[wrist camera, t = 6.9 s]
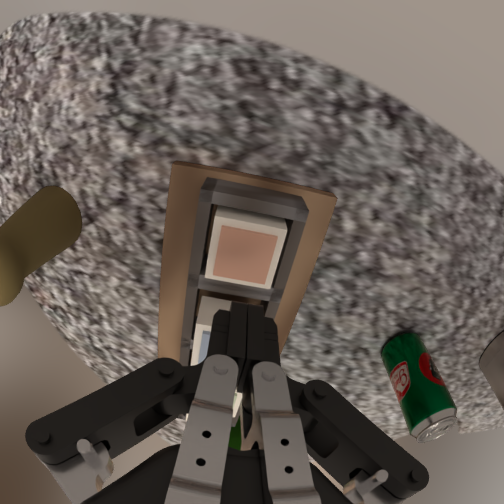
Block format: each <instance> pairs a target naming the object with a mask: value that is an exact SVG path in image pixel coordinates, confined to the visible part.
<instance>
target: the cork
mask: <svg viewBox="0 0 504 504" xmlns="http://www.w3.org/2000/svg"><path fill="white" fill-rule="evenodd" d="M81 228H82V219H81V213H80V210H79V208H78V205H77V203H76V201H75V200H74V199H73V197H72V196H71V195H70V194H69V193H68V192H67V191H65V190H64V189H63V188H60V187H57V186H46V187H44V188H42V189H41V190H39V191H38V192H37V193H36V194H35V195H33V196H32V197H31V198H30V199H29V200H28V201H27V202H26V203H25V204H23V205H22V206H21V207H20V208H19V209H18V210H17V211H16V212H15V213H14V214H13V215H12V216H11V217H10V218H9V219H8V220H7V221H6V222H5V223H4V224H3V225H2V226H1V227H0V306H4V305H7V304H9V303H11V302H12V301H13V300H14V299H15V298H16V296H17V295H18V294H19V293H20V291H21V288H22V286H23V282H24V278H25V277H27V276H28V275H29V274H31V273H32V272H33V271H35V270H36V269H38V268H39V267H40V266H42V265H43V264H45V263H46V262H48V261H49V260H50V259H52V258H53V257H55V256H56V255H58V254H59V253H61V252H62V251H64V250H65V249H67V248H68V247H70V246H71V245H73V244H74V243H75V242H76V241H77V240H78V238H79V235H80V233H81Z"/></svg>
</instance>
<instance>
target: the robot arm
mask: <svg viewBox="0 0 504 504" xmlns="http://www.w3.org/2000/svg"><path fill="white" fill-rule="evenodd" d="M479 366H480V369H481V370H482V372H483V374H484V375H485V377H486V379H487V381H488V382H489V384H490V386H491V388H492V389H493V391H494V393H495V395H496V397H497V398H498V400H499V402H500V404H501V406H502V408H503V410H504V331H503V332H502V333H501V334H500V335H499V336H498V337H496V338H495V339H494V340H493V342H492V343H491V344H490V345H489V346H488V347H487V349H486V350H485V352H484V353H483V355H482V357H481V359H480V362H479ZM236 387H237V393H242V402H241V405H240V421H241V439H242V444H241V450H237V449H234V448H231V447H228V443H229V436H230V430H231V423H232V417H233V402H234V395H235V391H236ZM180 414H189V415H188V418H187V422H186V426H185V430H184V433H183V437H182V441H181V444H177V445H172V446H169V447H166V448H164V449H162V450H160V451H158V452H157V453H155V454H154V455H152V456H151V457H149V458H148V459H147V460H145V461H144V462H142V463H141V464H140V465H138V466H137V467H135V468H134V469H132V470H131V471H130V472H128V473H127V474H125V475H124V476H122V477H121V478H119V479H118V480H116V481H115V482H113V483H112V484H110V485H108V486H107V487H105V488H104V489H102V486H103V483H104V482H105V481H106V480H107V479H108V478H109V477H110V476H111V475H112V473H113V470H114V465H113V461H112V459H113V458H115V457H116V456H118V455H120V454H121V453H123V452H125V451H126V450H128V449H130V448H131V447H133V446H134V445H136V444H138V443H139V442H141V441H142V440H144V439H145V438H147V437H149V436H150V435H152V434H153V433H155V432H156V431H158V430H159V429H161V428H162V427H164V426H165V425H167V424H168V423H170V422H171V421H173V420H174V419H176V418H177V417H178V416H179V415H180ZM25 437H26V442H27V444H28V446H29V447H30V448H31V450H32V451H33V452H34V453H35V455H36V456H37V458H38V459H39V460H40V461H41V462H42V463H43V464H44V465H45V466H46V467H47V468H48V469H49V470H50V472H51V473H52V475H53V476H54V478H55V479H56V481H57V482H58V484H59V485H60V487H61V488H62V490H63V491H64V493H65V494H66V495H67V497H68V498H69V499H70V501H71V502H72V503H73V504H401V503H402V502H403V501H404V500H405V499H407V498H409V497H411V496H412V495H414V494H416V493H417V492H419V491H421V490H422V489H423V488H425V487H426V485H427V484H428V481H429V474H428V471H427V469H426V468H425V466H424V465H422V464H421V463H420V462H419V461H417V460H416V459H415V458H414V457H413V456H411V455H410V454H409V453H407V451H405V450H404V449H403V448H402V447H401V446H399V445H398V444H397V443H396V442H395V441H393V440H392V439H391V438H390V437H389V436H388V435H386V434H385V433H384V432H383V431H382V430H381V429H379V428H378V427H377V426H376V425H375V424H374V423H372V422H371V421H370V420H369V419H368V418H367V417H366V416H364V415H363V414H362V413H361V412H360V411H359V410H358V409H356V408H355V407H354V406H353V405H352V404H351V403H350V402H349V401H347V400H346V399H345V398H344V397H343V396H342V395H341V394H340V393H339V392H337V391H336V390H335V389H334V388H333V387H332V386H331V385H330V384H328V383H327V382H324V381H322V380H311V381H309V382H307V383H306V385H305V384H303V383H300V382H297V381H295V380H292V379H291V378H289V377H288V376H286V374H285V372H284V370H283V369H282V368H281V365H280V352H279V342H278V329H277V325H276V323H275V322H274V320H273V318H269V317H264V308H263V306H261V305H255V304H249V303H248V304H247V303H243V302H237V301H232V302H231V306H230V311H227V310H221V309H219V310H218V311H217V312H216V313H215V314H214V316H213V321H212V327H211V333H210V339H209V345H208V351H207V356H206V358H205V359H204V360H203V361H202V362H201V363H199V364H197V365H193V366H182V365H181V364H180V363H179V362H178V361H176V360H174V359H172V358H167V357H163V358H158V359H156V360H154V361H152V362H150V363H148V364H146V365H144V366H143V367H141V368H139V369H137V370H135V371H133V372H131V373H129V374H128V375H126V376H124V377H122V378H120V379H118V380H116V381H114V382H112V383H110V384H109V385H107V386H105V387H103V388H101V389H99V390H97V391H95V392H93V393H91V394H89V395H87V396H85V397H83V398H81V399H79V400H77V401H75V402H73V403H71V404H69V405H67V406H65V407H63V408H61V409H59V410H57V411H55V412H53V413H50V414H48V415H46V416H44V417H42V418H40V419H38V420H36V421H34V422H32V423H31V424H30V425H29V426H28V428H27V430H26V435H25ZM308 454H309V455H310V456H311V457H312V458H313V459H314V460H315V461H316V462H317V463H318V464H319V465H321V467H322V468H324V469H325V470H326V471H327V472H328V473H329V474H330V475H331V476H332V477H333V478H334V479H335V480H336V481H337V482H338V483H340V484H341V485H342V486H343V493H342V492H341V491H340V490H339V489H338V488H337V487H335V485H334V484H333V483H332V482H331V481H330V480H329V479H328V478H327V477H326V476H325V475H324V474H323V473H322V472H321V471H320V470H319V469H318V468H317V467H316V466H315V465H313V464H312V463H310V462H309V459H308Z"/></svg>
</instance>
